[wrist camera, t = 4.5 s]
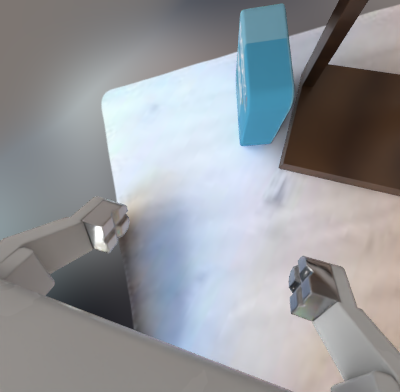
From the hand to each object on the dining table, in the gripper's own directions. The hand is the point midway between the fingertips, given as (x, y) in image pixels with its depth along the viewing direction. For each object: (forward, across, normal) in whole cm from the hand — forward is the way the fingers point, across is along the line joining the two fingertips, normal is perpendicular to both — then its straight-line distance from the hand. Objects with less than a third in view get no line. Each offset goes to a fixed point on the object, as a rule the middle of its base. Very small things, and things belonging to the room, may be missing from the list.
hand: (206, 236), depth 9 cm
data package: (+29, 0, +2) cm, 29 cm away
